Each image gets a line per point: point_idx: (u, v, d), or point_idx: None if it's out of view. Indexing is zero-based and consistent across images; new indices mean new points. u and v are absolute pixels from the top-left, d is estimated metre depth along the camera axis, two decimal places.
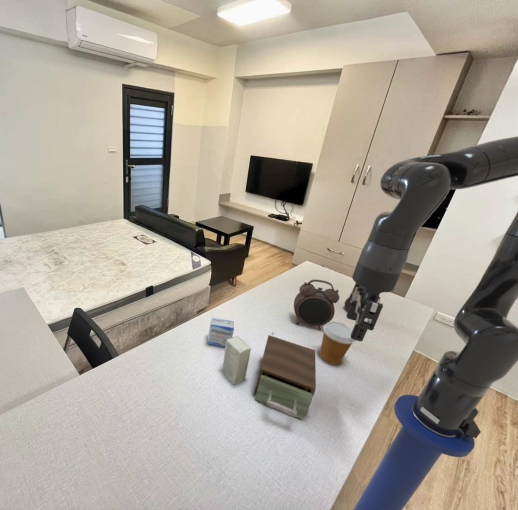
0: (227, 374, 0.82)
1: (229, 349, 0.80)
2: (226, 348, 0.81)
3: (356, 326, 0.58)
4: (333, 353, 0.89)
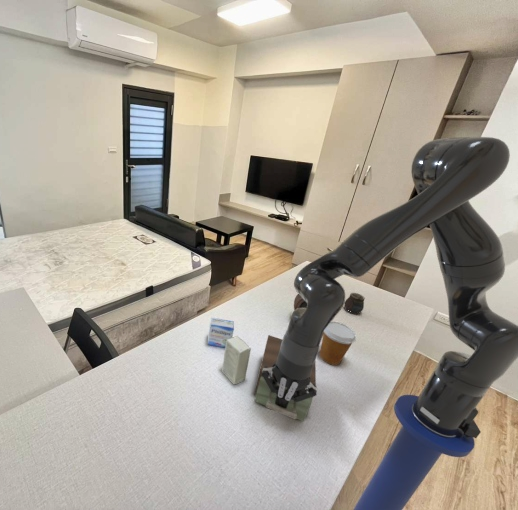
0: (227, 374, 0.82)
1: (229, 349, 0.80)
2: (226, 348, 0.81)
3: None
4: (333, 353, 0.89)
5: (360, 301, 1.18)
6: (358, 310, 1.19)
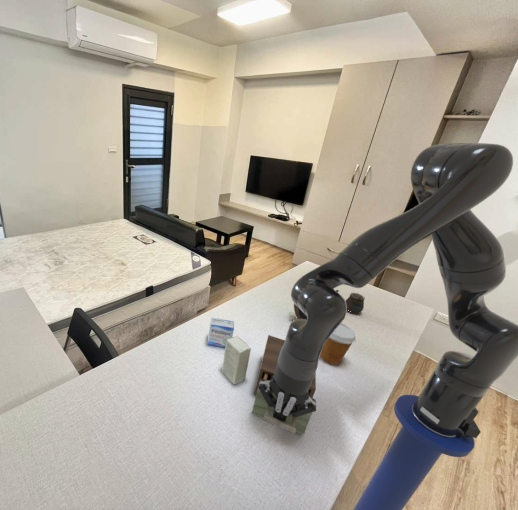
0: (227, 374, 0.82)
1: (229, 349, 0.80)
2: (226, 348, 0.81)
3: None
4: (333, 353, 0.89)
5: (360, 301, 1.18)
6: (358, 310, 1.19)
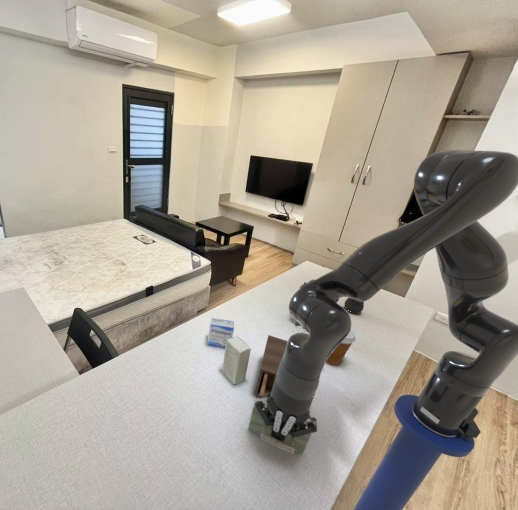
0: (227, 374, 0.82)
1: (229, 349, 0.80)
2: (226, 348, 0.81)
3: None
4: (333, 353, 0.89)
5: (360, 301, 1.18)
6: (358, 310, 1.19)
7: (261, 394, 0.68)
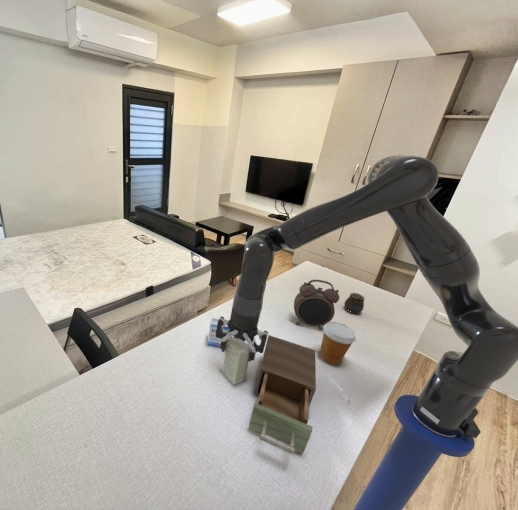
0: (227, 374, 0.82)
1: (229, 349, 0.80)
2: (226, 348, 0.81)
3: None
4: (333, 353, 0.89)
5: (360, 301, 1.18)
6: (358, 310, 1.19)
7: (261, 394, 0.68)
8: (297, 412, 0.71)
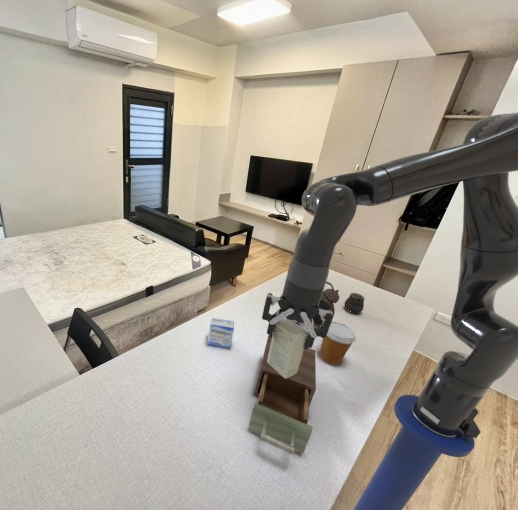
0: (275, 366, 0.66)
1: (279, 334, 0.63)
2: (275, 333, 0.65)
3: None
4: (333, 353, 0.89)
5: (360, 301, 1.18)
6: (358, 310, 1.19)
7: (261, 394, 0.68)
8: (297, 412, 0.71)
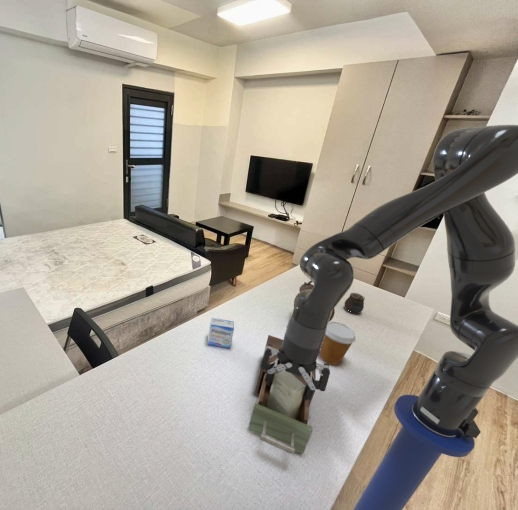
0: None
1: (278, 386, 0.66)
2: (273, 384, 0.67)
3: None
4: (333, 353, 0.89)
5: (360, 301, 1.18)
6: (358, 310, 1.19)
7: (261, 394, 0.68)
8: None
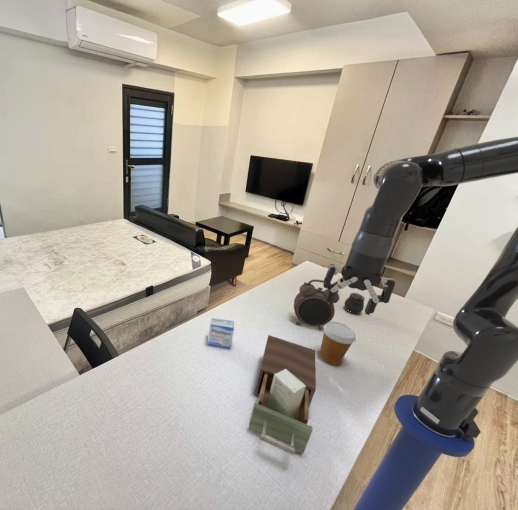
0: None
1: (278, 386, 0.66)
2: (273, 384, 0.67)
3: None
4: (333, 353, 0.89)
5: (360, 301, 1.18)
6: (358, 310, 1.19)
7: (261, 394, 0.68)
8: None
